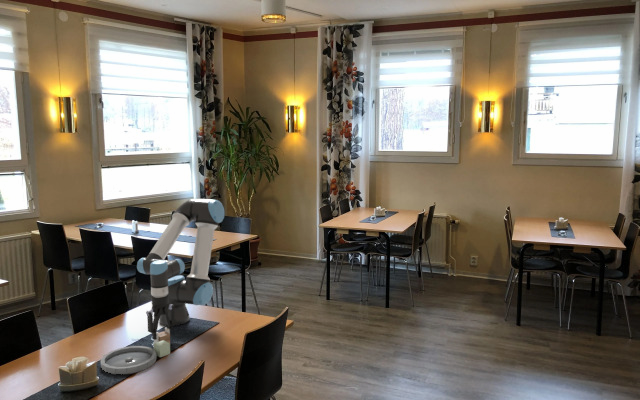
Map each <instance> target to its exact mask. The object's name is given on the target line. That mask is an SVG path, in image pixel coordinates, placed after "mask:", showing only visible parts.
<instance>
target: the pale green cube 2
mask: <svg viewBox="0 0 640 400" xmlns="http://www.w3.org/2000/svg"><path fill="white" fill-rule="evenodd" d="M153 349H154V350H155V351H156V354H157V357H158V358H162V357H165V356H168V355H171V342H170V343H169V342H166V341H164V340H162V341H160V342H157V343H154V342H153Z"/></svg>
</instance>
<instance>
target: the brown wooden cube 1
mask: <svg viewBox="0 0 640 400" xmlns="http://www.w3.org/2000/svg"><path fill="white" fill-rule="evenodd" d="M158 335H159V342H160V341H162V340H164V341H166V342H169V343H170V344H171V334H169V333H166V332H165V330H164V331H160V332H158Z"/></svg>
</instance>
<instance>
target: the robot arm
mask: <svg viewBox="0 0 640 400" xmlns="http://www.w3.org/2000/svg"><path fill="white" fill-rule="evenodd" d="M224 219H225V208H224V205H223V203H222V202H221V201H220V200H217V199H210V198H209V199H208V198H207V199H206V198H205V199H204V198H191V199H188V200H186V201H184V202H183V203H182V204H181V205H179V206H178V207H177V208H176V209H175V211H174V212H173V214H172V215H171V220H170V222H169V223H168V224H167V226H166V227H165V229H164V231H163V233H162V234H161V235H160V237H159V238H158V239H157V241H156V243H155V244H154V246H153V247H152V249H151V250H150V252H149V253H148V255H147V256H146V257H141V258H140V259H139V260H138V261H137V264H136V269H137V271H138V272H139V273H141V274H144V275H150V294H151V309H150V310H146V311H145V314H146V316H147V332H149V333H150V334H151V335H152V336H151V337H152V338H151V339H152V340H153V343H154V342H155V343H157V342H159V335H158V333H159V332H158V326H159V324H160V325H162V326H165V327H164V331H165V332H166V333H169V334H170V335H172V329H173V327H174V326H175V325H176V326H180V324H181V325H184V324H187V323H188V322H189V321H190V314H189V313H190V312H189V310H188V309H187V305H194V306H205V305H207V304H208V303H209V302H210V301H211V298H212V297H213V293H214V288H213V284H212V283H211V281H210V280H211V279H210V277H209V275H208V274H209V270H210V268H209V267H210V261H211V255H212V248H213V243H214V236H215V235H214V234H215V230H216V229H217V228H218V227H219V224H220V223H222V222H223V220H224ZM192 222H194V223H195V225H196V226H197V228H196V229H197V230H196V237H195V242H194V249H193V254H192V261H191V267H190V273H189V274H188V275H187V276H186V279H185V276H184V275H181V274H183V273H184V271H185V268H186V267H185V266H186V265H185V263H184V261H183V260H182V259H180V258H175V259H174V258H173V259H172V260H169V259H166V257H168V254H169V253H170V251H171V250H172V248H173V247H174V244H175V243H176V242H177V240H178V238H179V236H181V234H182V232H183V231H184V229H185V228H186V227H188V226H189V225H190V223H192ZM186 304H187V305H186Z"/></svg>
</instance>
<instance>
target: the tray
mask: <svg viewBox="0 0 640 400" xmlns="http://www.w3.org/2000/svg"><path fill="white" fill-rule="evenodd" d="M157 357H158V356H157V354H156V351H155V350H154V348H152V347H149V346H144V345H143V346H142V345H131V346H125V347H120V348H115V349H114V350H111V351H109V352H107V353H106V354H104V355H103V356H102V357H101V359H100V368H102V369H101V370H102V371H103V370H104V371H105V372H104V371H103V372H104V373H106V372H108V373H107V374H109V373H111V374H110V375H116V374H121V375H122V374H123V375H131V374H135V373H140V372H142V371H144V370H148V369H149V368H151V367H152V366H153V365H154V364H156V362H157V359H158V358H157Z"/></svg>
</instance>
